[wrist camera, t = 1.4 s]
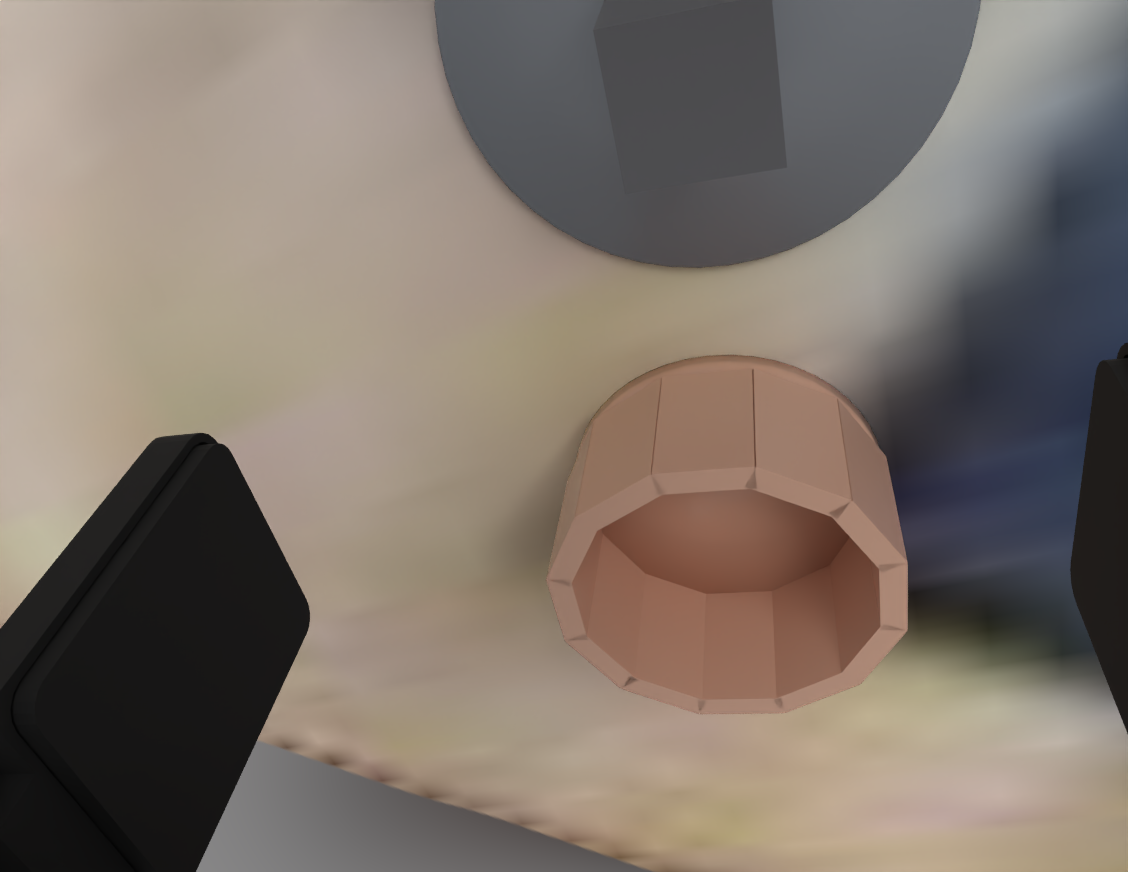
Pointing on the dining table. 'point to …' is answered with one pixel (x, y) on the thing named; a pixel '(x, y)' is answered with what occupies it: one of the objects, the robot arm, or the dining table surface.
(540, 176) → the lid
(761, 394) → the bowl
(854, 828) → the dining table surface
